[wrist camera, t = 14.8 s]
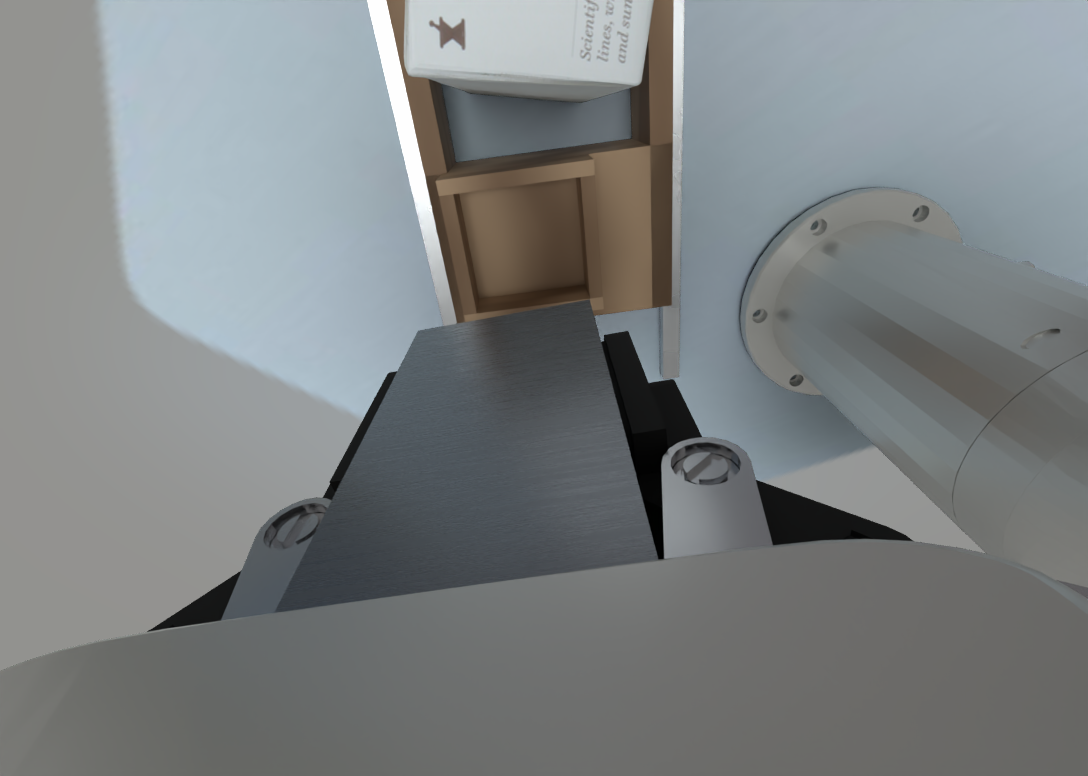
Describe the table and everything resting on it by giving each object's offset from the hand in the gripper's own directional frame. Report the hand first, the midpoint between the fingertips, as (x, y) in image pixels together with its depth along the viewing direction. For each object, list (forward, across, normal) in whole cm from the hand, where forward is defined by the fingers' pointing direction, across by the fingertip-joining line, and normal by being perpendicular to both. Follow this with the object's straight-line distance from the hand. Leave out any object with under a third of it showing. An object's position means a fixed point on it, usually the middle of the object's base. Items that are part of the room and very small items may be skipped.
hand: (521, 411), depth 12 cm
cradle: (+18, -2, -6) cm, 19 cm away
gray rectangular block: (+1, 0, 0) cm, 1 cm away
